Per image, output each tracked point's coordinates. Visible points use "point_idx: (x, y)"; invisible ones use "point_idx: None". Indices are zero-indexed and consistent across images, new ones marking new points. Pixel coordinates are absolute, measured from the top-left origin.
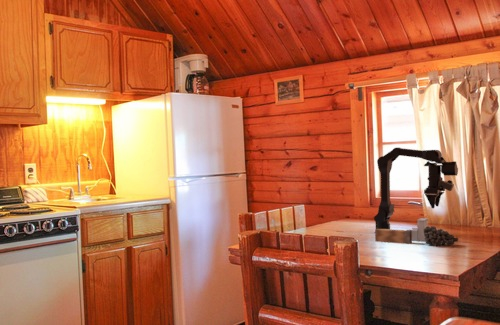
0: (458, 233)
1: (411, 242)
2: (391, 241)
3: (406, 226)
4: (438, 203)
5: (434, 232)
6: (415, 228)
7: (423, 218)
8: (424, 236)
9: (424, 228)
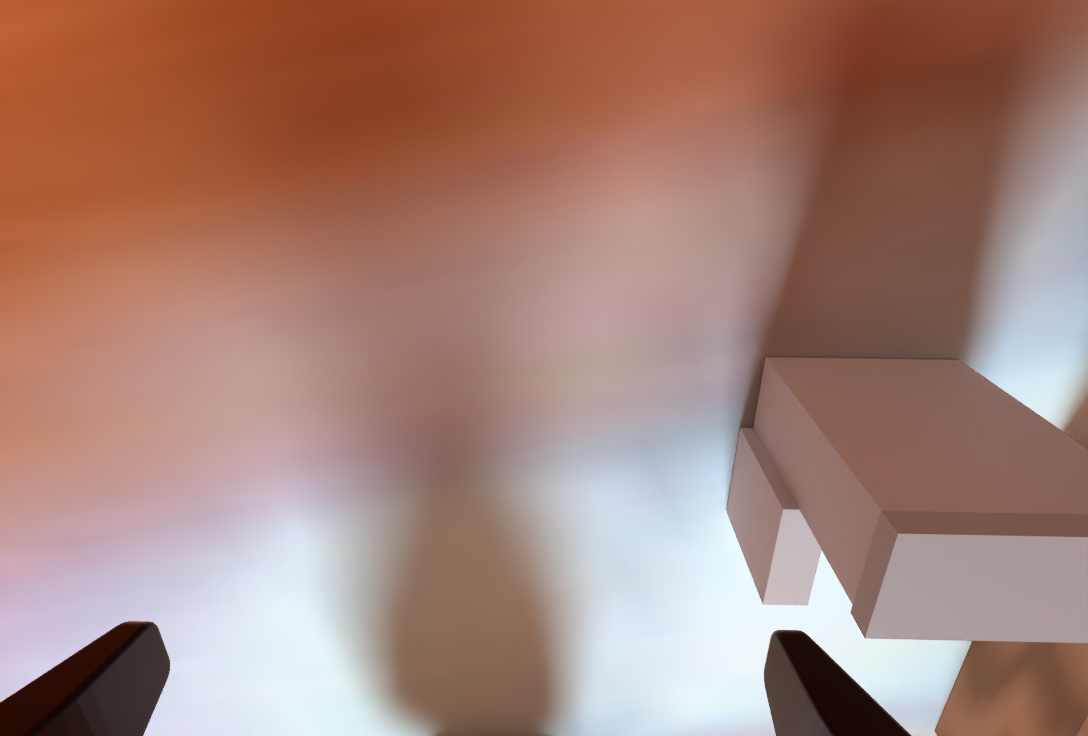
0: (94, 57)
1: None
2: None
3: None
4: (85, 699)
5: None
6: (813, 568)
7: (901, 597)
8: (983, 386)
9: (1056, 446)
